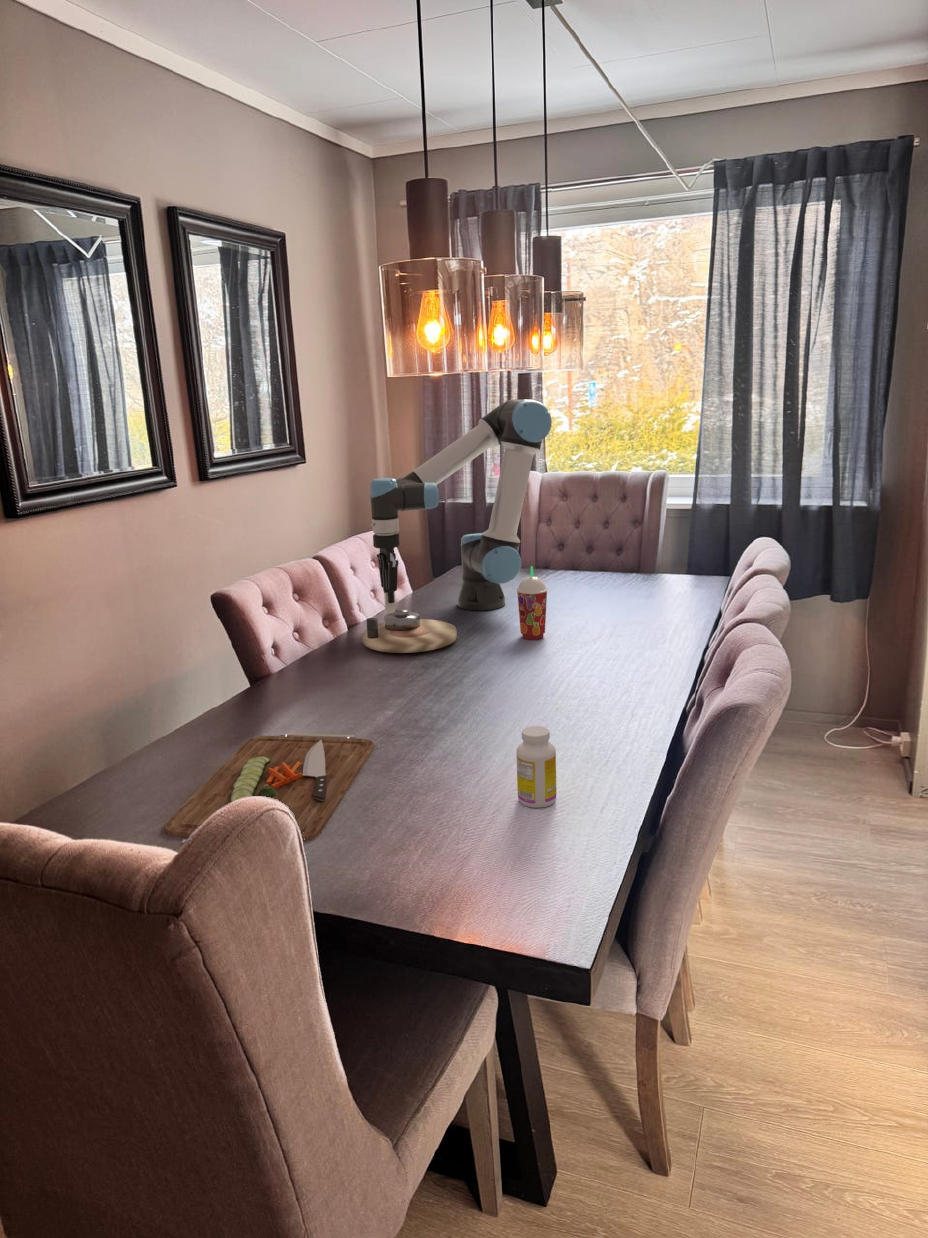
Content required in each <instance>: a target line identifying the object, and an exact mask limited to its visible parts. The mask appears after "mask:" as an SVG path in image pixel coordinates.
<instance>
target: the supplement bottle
mask: <svg viewBox="0 0 928 1238" xmlns="http://www.w3.org/2000/svg"><path fill="white" fill-rule="evenodd" d="M550 737H551V736H550V729H549V728H548V727H544V726H540V725H530V726H526V727H524V728H523V729H522V730H521V740H522V742H521V743H519V744H518V745H517V748H516V752H515V753H516V755H515V756H516V778H517V779H516V780H517V798H518V799H517V800H518V801H519V803H521V805H522V806H525V807H528V808H534V809H535V808H536V809H537V808H538V809H539V808H546V807H547V808H548V807H550V806H552V805H553V804H554V803H555V802H556V801H557V753H556V747H555V745H554V744H553V743H552V742H551V741H549V740H550Z"/></svg>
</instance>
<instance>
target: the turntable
mask: <svg viewBox="0 0 928 1238" xmlns="http://www.w3.org/2000/svg"><path fill="white" fill-rule="evenodd" d="M361 634H362V635H361V636H362V638H361V639H362V643H363V646H365V647H366V648H368V649H370V650H374V651H378V652H382V653H384V652H385V653H394V654H395V653H397V654H405V653H408V654H409V653H411V654H412V653H420V652H421V653H422V652H430V651H433V650H438V649H441V648H444V647H447V646H450V645H451V644H453V643H454V642H455V641H456V640H457V637H458V636H457V635H458V634H457V628H456V626H455V625H454V624H451V623H449V622H447V621H446V622H445V621H442V620H436V619H429V618H428V619H425V618H420V626H419V627H418V628H416V629H412V630H406V631H392V630H387V629H385V624H384V622H380V623H378V618H376V617H368V618H366V629H365V630H363V632H362V633H361Z"/></svg>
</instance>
